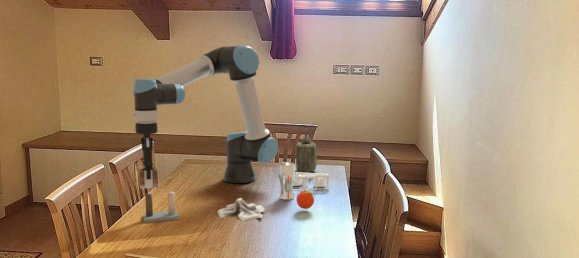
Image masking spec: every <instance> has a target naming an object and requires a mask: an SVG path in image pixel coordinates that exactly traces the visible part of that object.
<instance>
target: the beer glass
mask: <svg viewBox="0 0 579 258" xmlns="http://www.w3.org/2000/svg"><path fill="white" fill-rule="evenodd" d="M295 165H296V164H295V163H294V162H291V161H288V162H287V161H284V162H279V163H278V181H279V189H280V193H279V199H280V200H283V201H288V200H289V201H290V200H293V199H294V198H295V197H294V196H295V195H294V190H293V189H294V179H295V172H296V166H295Z"/></svg>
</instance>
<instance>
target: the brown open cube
mask: <svg viewBox="0 0 579 258" xmlns="http://www.w3.org/2000/svg"><path fill="white" fill-rule="evenodd" d="M143 169H144V168H139V169H138V173H139V174H138V175H139V188H140V189H146V188H145V177H144V170H143ZM152 176H153V188H152V189H155V188H156V189H157V188H158V187H159V179H158V168H157V167H153V169H152Z"/></svg>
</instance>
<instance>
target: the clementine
mask: <svg viewBox="0 0 579 258" xmlns="http://www.w3.org/2000/svg"><path fill="white" fill-rule="evenodd" d="M315 198H317V197H316V195H315V194H314V192H311V191H301V192H299V193H298V194H297V196H296V204H297V205H298V206H299V208H301V209H304V210H307V209H310V208H312V206H313V205H314V203H315Z"/></svg>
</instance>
